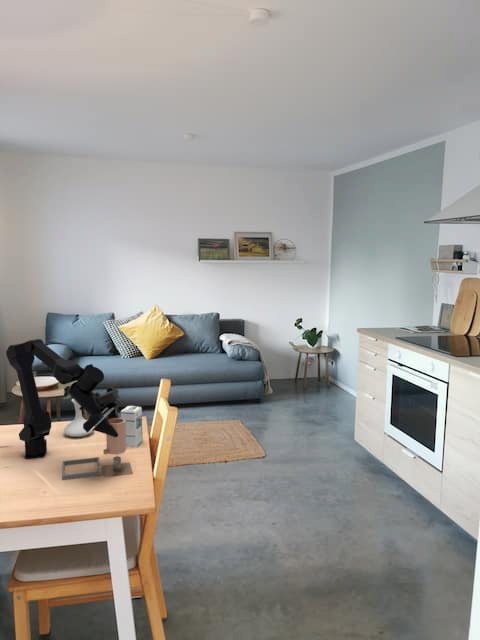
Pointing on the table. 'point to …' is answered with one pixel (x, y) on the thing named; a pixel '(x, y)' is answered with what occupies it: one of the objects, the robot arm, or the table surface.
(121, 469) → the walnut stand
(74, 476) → the charcoal tray
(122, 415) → the syrup box
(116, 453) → the ring tube
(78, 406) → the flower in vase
